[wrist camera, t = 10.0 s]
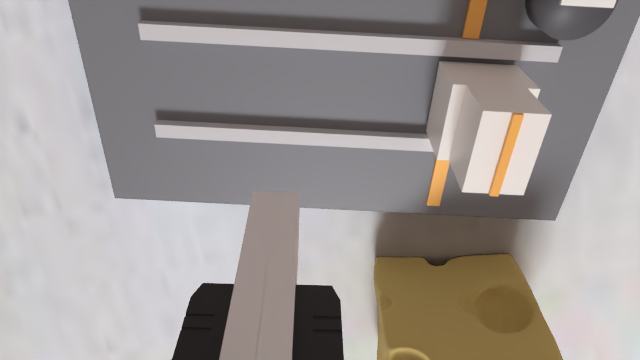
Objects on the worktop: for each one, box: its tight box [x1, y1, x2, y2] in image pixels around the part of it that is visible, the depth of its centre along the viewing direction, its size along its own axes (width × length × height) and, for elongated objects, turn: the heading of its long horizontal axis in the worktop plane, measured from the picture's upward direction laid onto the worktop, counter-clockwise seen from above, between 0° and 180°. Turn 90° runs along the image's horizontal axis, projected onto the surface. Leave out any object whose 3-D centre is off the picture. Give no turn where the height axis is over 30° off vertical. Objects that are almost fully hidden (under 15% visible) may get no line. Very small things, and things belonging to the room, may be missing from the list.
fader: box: [426, 61, 552, 197], centre depth 22 cm, size 4×4×6 cm
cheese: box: [374, 254, 563, 360], centre depth 33 cm, size 10×11×10 cm
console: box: [68, 0, 640, 221], centre depth 25 cm, size 28×16×4 cm, turn 87°
